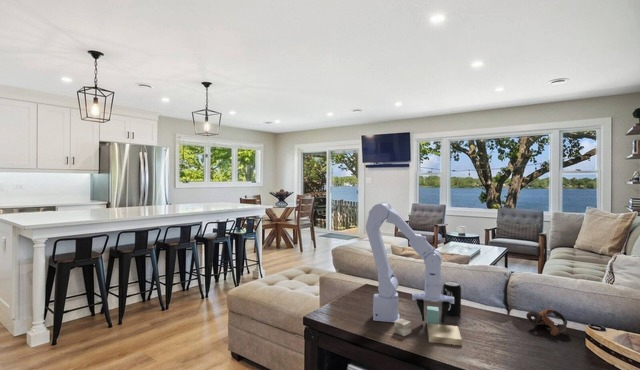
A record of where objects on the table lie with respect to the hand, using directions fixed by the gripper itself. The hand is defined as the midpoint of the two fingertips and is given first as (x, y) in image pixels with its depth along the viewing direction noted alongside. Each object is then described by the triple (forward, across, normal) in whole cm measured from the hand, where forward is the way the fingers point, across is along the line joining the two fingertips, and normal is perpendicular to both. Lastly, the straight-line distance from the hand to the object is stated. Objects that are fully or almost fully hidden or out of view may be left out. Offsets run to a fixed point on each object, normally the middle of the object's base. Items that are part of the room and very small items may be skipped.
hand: (432, 320), depth 125 cm
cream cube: (+2, -10, -9) cm, 14 cm away
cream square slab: (+1, +3, -9) cm, 10 cm away
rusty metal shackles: (+2, +38, +6) cm, 39 cm away
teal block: (+2, 0, 0) cm, 2 cm away
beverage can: (+2, +8, +13) cm, 15 cm away
